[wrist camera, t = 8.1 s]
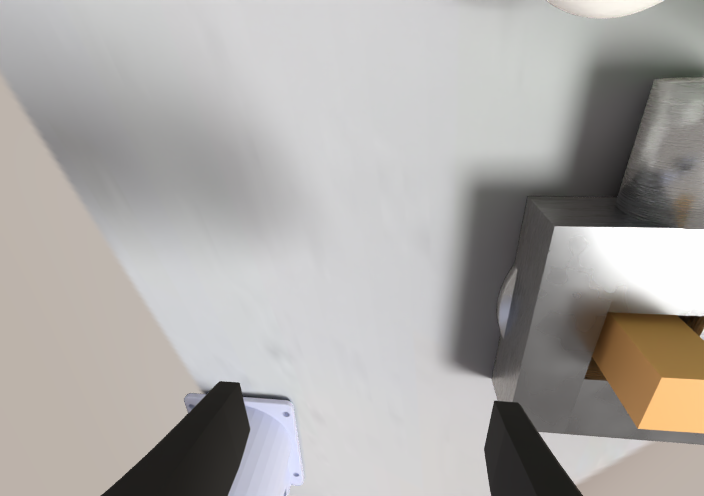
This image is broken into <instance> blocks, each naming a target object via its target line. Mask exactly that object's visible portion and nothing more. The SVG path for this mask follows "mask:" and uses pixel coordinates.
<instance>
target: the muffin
mask: <svg viewBox="0 0 704 496" xmlns="http://www.w3.org/2000/svg"><path fill="white" fill-rule="evenodd" d="M546 1H547V2H549V3H550V4H552V5H553V6H555V7H557V8H559V9H561V10H563V11H565V12H568V13H570V14H573V15H577V16H582V17H587V18H596V19H606V18H616V17H622V16H627V15H631V14H634V13H637V12H640V11H643V10H645V9H647V8H650V7H652V6H654V5H656V4H658V3H660V2H662V1H664V0H546Z"/></svg>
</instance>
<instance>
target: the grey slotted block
mask: <svg viewBox="0 0 704 496" xmlns="http://www.w3.org/2000/svg"><path fill="white" fill-rule="evenodd" d="M608 312H615V313H639V314H662V315H677V316H678V317H679V318H680V319H681V320H683V321H684V322H685V323H686V324H687V325H688V326H689V327H690V328H691V329H692V330H693V331H694V332H695V333H696V334H697V335H698V336H700V337H701V338H702V339H703V340H704V77H684V78H662V79H655V80H654V82H653V85H652V88H651V92H650V95H649V98H648V101H647V104H646V107H645V111H644V114H643V117H642V120H641V123H640V127H639V130H638V133H637V136H636V139H635V143H634V146H633V149H632V152H631V155H630V158H629V162H628V165H627V168H626V171H625V174H624V178H623V181H622V184H621V187H620V190H619V193H618V197H567V196H528V197H527V202H526V207H525V212H524V218H523V223H522V228H521V233H520V238H519V243H518V248H517V253H516V258H515V263H514V265H513V267H512V268H511V270H510V271H509V273H508V275H507V276H506V278H505V280H504V282H503V285H502V287H501V290H500V293H499V297H498V303H497V321H498V325H499V329H500V332H501V335H500V340H499V345H498V350H497V355H496V360H495V365H494V370H493V375H492V382H493V386H494V389H495V393H496V396H497V400H498V401H505V402H518V403H519V404H520V405H521V406H522V408H523V409H524V411H525V413H526V414H527V416H528V417H529V419H530V420H531V422H532V423H533V425H534V427H535V428H536V430H537V431H538V432H548V433H560V434H573V435H586V436H598V437H611V438H624V439H636V440H649V441H663V442H676V443H688V444H700V445H704V433H691V432H677V431H663V430H648V429H638V428H637V427H636V425H635V424H634V422H633V420H632V419H631V417H630V416H629V414H628V413H627V411H626V409H625V408H624V406H623V405H622V403H621V402H620V400H619V398H618V397H617V395H616V394H615V392H614V391H613V389H612V387H611V386H610V384H609V383H608V381H607V380H606V378H605V376H604V375H603V373H602V372H601V370H600V369H599V367H598V365H597V364H596V362H595V361H594V359H593V357H592V355H593V352H594V349H595V347H596V344H597V341H598V338H599V335H600V333H601V330H602V327H603V324H604V321H605V318H606V316H607V313H608Z"/></svg>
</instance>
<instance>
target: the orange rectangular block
mask: <svg viewBox="0 0 704 496" xmlns="http://www.w3.org/2000/svg"><path fill="white" fill-rule="evenodd" d="M592 357H593V359H594V361H595V362H596V364H597V365H598V367H599V369H600V370H601V372H602V373H603V375H604V376H605V378H606V380H607V381H608V383H609V384H610V386H611V387H612V389H613V391H614V392H615V394H616V395H617V397H618V398H619V400H620V402H621V403H622V405H623V406H624V408H625V409H626V411H627V413H628V414H629V416H630V417H631V419H632V420H633V422H634V424H635V425H636V427H637V428H638V429H648V430H663V431H677V432H691V433H704V340H703V339H702V338H701V337H700V336H698V335H697V334H696V333H695V332H694V331H693V330H692V329H691V328H690V327H689V326H688V325H687V324H686V323H685V322H684V321H683V320H681V319H680V318H679V317H678V316H677V315H662V314H639V313H615V312H608V313H607V316H606V318H605V321H604V324H603V327H602V330H601V333H600V335H599V338H598V341H597V344H596V347H595V349H594V352H593V355H592Z"/></svg>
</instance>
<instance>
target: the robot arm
mask: <svg viewBox="0 0 704 496" xmlns="http://www.w3.org/2000/svg"><path fill="white" fill-rule="evenodd" d="M184 402H185V405H186V408H187V411H188V414H187V415H186V416H185V417H184V418H183V419H182V420H181V421H180V423H179V424H177V426H175V427H174V428H173V429H172V430H171V431H170V432H169V433H168V434H167V435H166V437H164V438H163V439H162V440H161V441H160V442H159V443H158V444H157V445H156V446H155V447H154V448H153V449H152V450H151V451H150V452H149V453H148V454H147V455H146V456H145V457H144V458H142V460H140V461H139V462H138V463H137V464H136V465H135V466H134V467H133V468H132V469H130V470H129V471H128V472H127V473H126V474H125V475H124V476H123V477H122V478H121V479H120V480H118V481H117V482H116V483H115V484H114V485H113V486H112V487H110V489H108V490H107V491H106V492H105V493H104V494H102V495H101V496H288V494H289V490H290V486H291V485H295V486H300V485H302V484H303V483H304V473H303V466H302V459H301V453H300V446H299V439H298V433H297V426H296V419H295V413H294V406H293V404H292V403H291V402H290V401H287V400H276V399H263V398H250V397H243V396H242V391H241V387H240V383H236V382H222V381H220V382H219V383H217V384H216V385H215V386H214V387H213V388H212V389H211V390H210V391H209V393H208V394H196V393H189V394H187V395H186V397H185V398H184ZM484 451H485V459H486V466H487V473H488V479H489V486H490V492H491V496H583V495H582V494H581V492H580V491H579V490H578V488H577V487H576V485H575V484H574V483H573V481H572V480H571V479H570V477H569V476H568V475H567V473H566V472H565V470H564V469H563V468H562V466H561V465H560V463H559V462H558V461H557V459H556V458H555V456H554V455H553V453H552V452H551V450H550V449H549V448H548V446H547V445H546V443H545V442H544V440H543V439H542V437H541V436H540V434H539V433H538V431H537V430H536V428H535V427H534V425H533V423H532V422H531V420H530V419H529V417H528V416H527V414H526V413H525V411H524V409H523V408H522V406H521V405H520V404H519V403H518V402H505V401H494V405H493V409H492V414H491V419H490V424H489V429H488V433H487V438H486V443H485V448H484Z"/></svg>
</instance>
